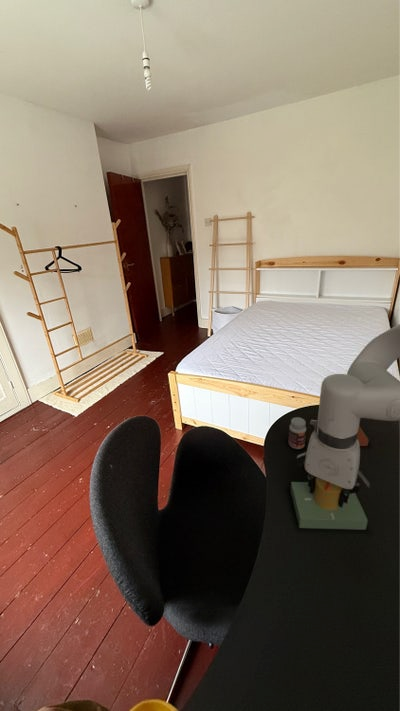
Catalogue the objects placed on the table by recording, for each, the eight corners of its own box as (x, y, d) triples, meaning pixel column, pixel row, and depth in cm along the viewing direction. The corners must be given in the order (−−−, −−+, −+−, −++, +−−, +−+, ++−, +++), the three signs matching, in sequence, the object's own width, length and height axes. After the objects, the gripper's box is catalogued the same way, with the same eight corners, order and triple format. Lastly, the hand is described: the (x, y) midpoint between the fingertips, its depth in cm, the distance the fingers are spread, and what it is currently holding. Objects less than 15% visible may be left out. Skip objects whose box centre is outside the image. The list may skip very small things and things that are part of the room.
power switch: (354, 424, 96) (356, 414, 94) (367, 446, 87) (369, 435, 85) (315, 424, 97) (316, 414, 95) (325, 446, 88) (326, 435, 86)
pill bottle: (299, 451, 87) (301, 428, 83) (285, 444, 90) (286, 421, 86) (308, 443, 89) (310, 421, 86) (294, 436, 93) (295, 414, 89)
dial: (318, 485, 72) (320, 467, 69) (342, 496, 69) (346, 477, 66) (310, 502, 68) (312, 483, 65) (336, 514, 65) (339, 495, 62)
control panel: (348, 491, 73) (350, 481, 72) (365, 529, 64) (368, 519, 63) (290, 490, 75) (291, 481, 74) (299, 528, 66) (300, 518, 64)
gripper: (288, 428, 63) (284, 490, 70) (381, 461, 53) (365, 528, 60) (301, 410, 68) (296, 469, 75) (388, 437, 58) (372, 502, 66)
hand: (327, 495), depth 68 cm, fingers closed on dial, 5 cm apart
